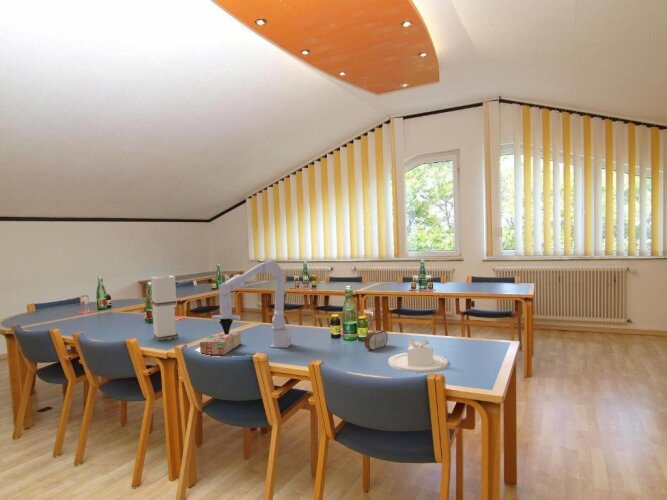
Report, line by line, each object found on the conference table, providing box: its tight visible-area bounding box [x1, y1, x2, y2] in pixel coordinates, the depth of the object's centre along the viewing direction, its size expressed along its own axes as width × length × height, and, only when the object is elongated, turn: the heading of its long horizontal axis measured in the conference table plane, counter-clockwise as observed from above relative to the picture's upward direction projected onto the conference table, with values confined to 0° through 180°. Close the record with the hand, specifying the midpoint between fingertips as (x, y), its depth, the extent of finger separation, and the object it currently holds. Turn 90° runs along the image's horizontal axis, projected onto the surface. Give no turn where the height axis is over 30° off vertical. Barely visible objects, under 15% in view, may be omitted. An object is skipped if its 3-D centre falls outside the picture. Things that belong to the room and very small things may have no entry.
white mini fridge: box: [150, 275, 179, 341], centre depth 245 cm, size 11×11×35 cm
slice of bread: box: [364, 329, 389, 351], centre depth 207 cm, size 15×3×8 cm, turn 134°
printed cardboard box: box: [199, 331, 242, 356], centre depth 215 cm, size 21×6×12 cm
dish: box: [388, 338, 449, 373], centre depth 182 cm, size 25×25×11 cm
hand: (226, 334), depth 214 cm, fingers closed
